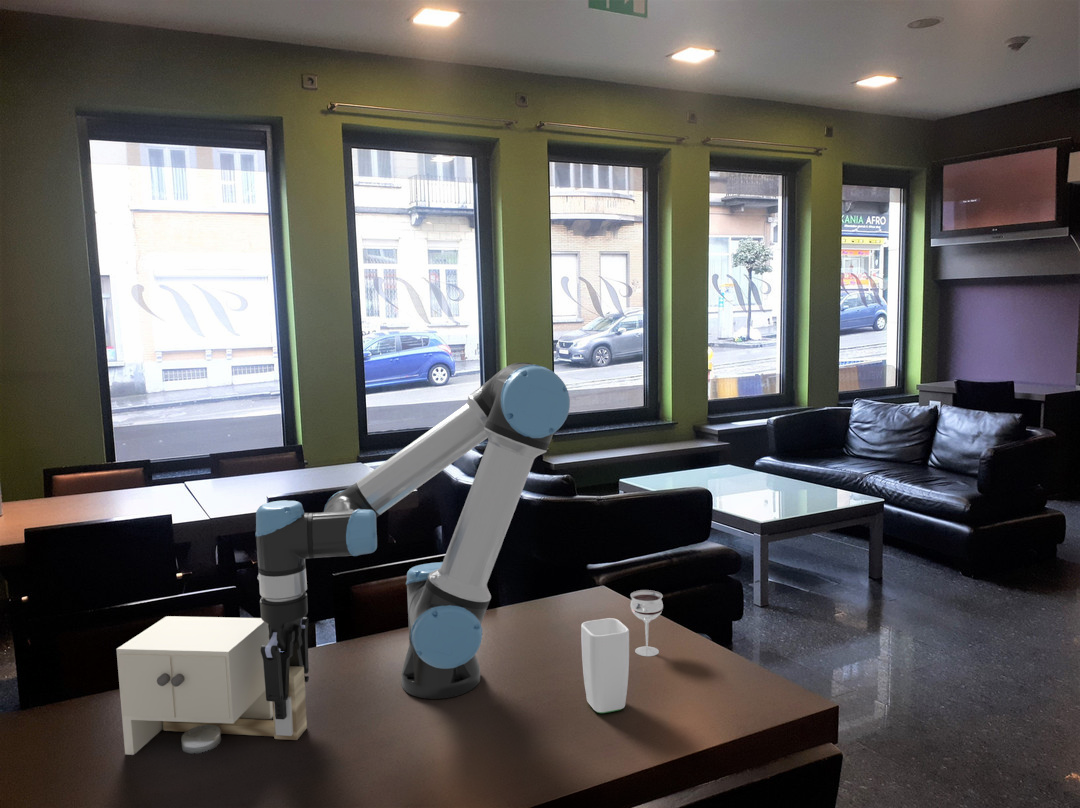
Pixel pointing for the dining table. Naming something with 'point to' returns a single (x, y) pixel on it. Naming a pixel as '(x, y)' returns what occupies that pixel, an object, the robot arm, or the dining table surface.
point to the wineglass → (646, 614)
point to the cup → (605, 663)
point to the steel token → (201, 739)
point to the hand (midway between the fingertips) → (290, 726)
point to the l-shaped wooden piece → (262, 725)
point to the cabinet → (191, 675)
